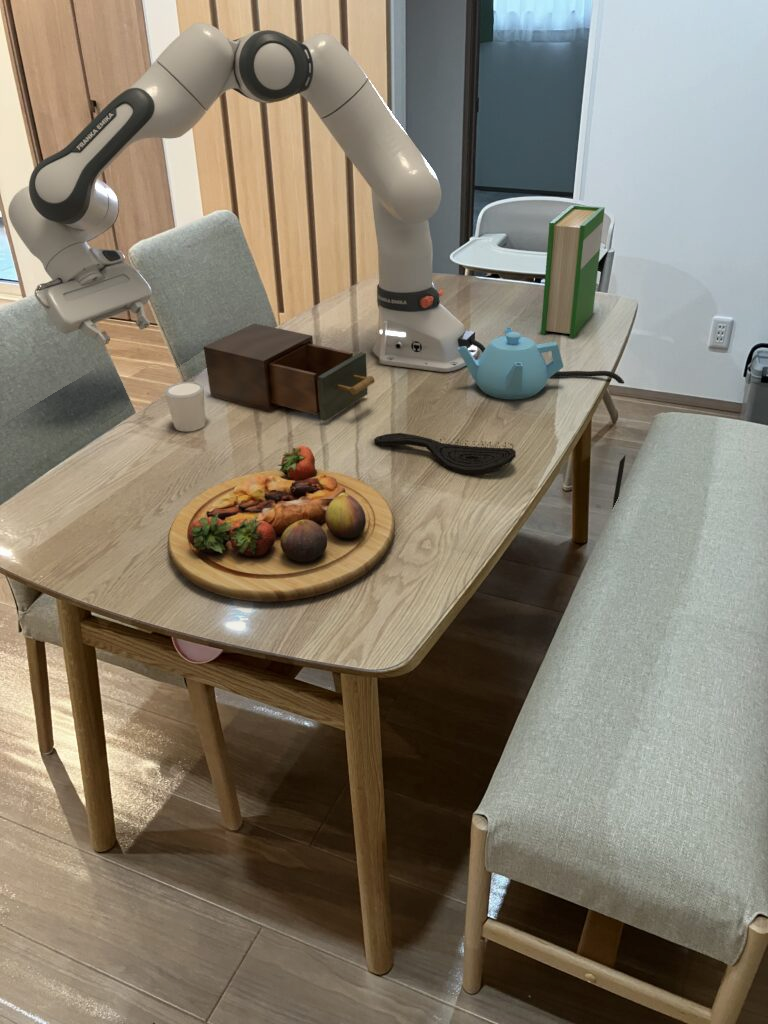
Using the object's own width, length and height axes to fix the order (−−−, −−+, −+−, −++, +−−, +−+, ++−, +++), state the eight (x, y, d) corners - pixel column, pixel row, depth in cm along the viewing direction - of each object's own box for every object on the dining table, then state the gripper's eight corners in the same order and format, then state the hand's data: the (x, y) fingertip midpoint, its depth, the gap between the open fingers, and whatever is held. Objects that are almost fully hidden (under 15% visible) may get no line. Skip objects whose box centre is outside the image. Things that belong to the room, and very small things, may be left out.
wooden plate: (244, 466, 136) (238, 421, 132) (426, 501, 125) (426, 452, 121) (122, 575, 111) (109, 523, 107) (336, 630, 100) (332, 575, 96)
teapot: (514, 411, 151) (518, 355, 145) (454, 388, 160) (455, 335, 155) (565, 387, 159) (571, 333, 154) (505, 366, 169) (508, 315, 163)
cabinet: (316, 384, 164) (312, 335, 158) (269, 412, 153) (263, 360, 148) (259, 370, 171) (254, 323, 165) (210, 396, 160) (203, 346, 155)
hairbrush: (385, 417, 144) (523, 438, 133) (386, 436, 146) (522, 458, 135) (362, 437, 138) (505, 460, 127) (364, 457, 139) (505, 481, 129)
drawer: (386, 398, 155) (385, 357, 150) (345, 426, 145) (343, 382, 141) (310, 380, 163) (307, 340, 159) (267, 405, 154) (262, 363, 149)
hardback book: (573, 338, 181) (584, 225, 168) (540, 334, 184) (549, 222, 171) (592, 313, 195) (604, 207, 182) (562, 309, 197) (571, 204, 185)
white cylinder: (216, 419, 151) (211, 384, 148) (194, 435, 146) (188, 399, 142) (186, 413, 154) (180, 378, 150) (163, 429, 149) (156, 393, 145)
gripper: (34, 276, 138) (86, 343, 138) (127, 248, 152) (174, 308, 153) (23, 298, 142) (74, 363, 143) (115, 269, 157) (160, 327, 157)
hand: (126, 334), depth 148 cm, fingers open, 8 cm apart
